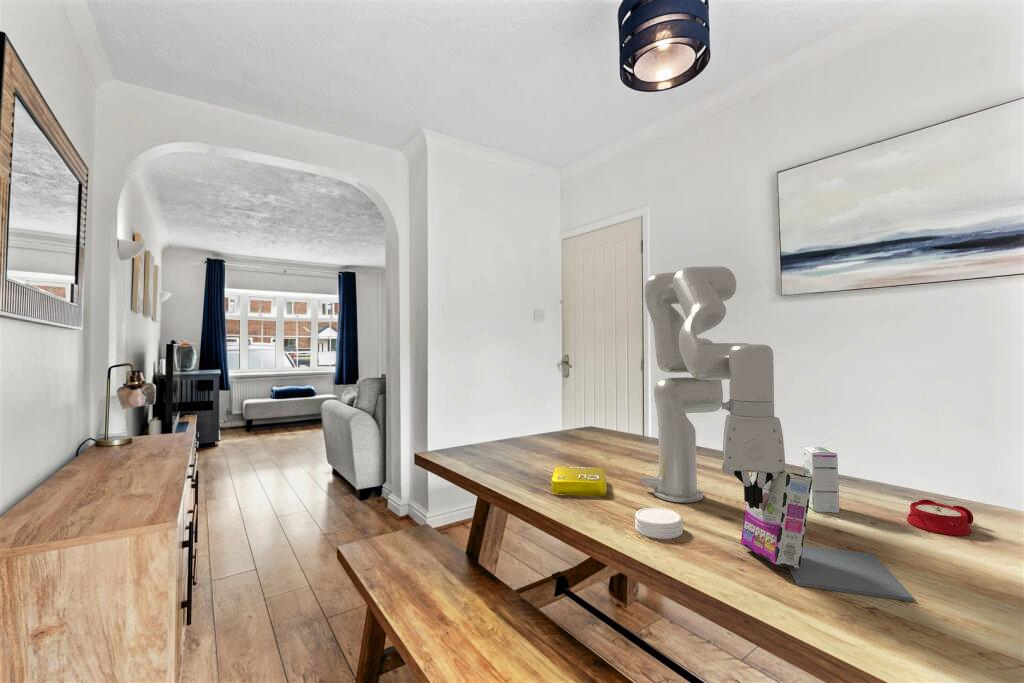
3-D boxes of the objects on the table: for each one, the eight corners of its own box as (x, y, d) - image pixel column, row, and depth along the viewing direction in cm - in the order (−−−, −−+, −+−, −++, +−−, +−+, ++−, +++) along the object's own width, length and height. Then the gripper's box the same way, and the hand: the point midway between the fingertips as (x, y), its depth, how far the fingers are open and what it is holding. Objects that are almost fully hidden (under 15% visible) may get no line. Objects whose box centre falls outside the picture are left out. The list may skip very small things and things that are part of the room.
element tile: (605, 481, 138) (604, 465, 138) (606, 498, 124) (606, 480, 124) (555, 480, 141) (554, 464, 141) (551, 496, 126) (550, 479, 126)
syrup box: (840, 513, 109) (839, 452, 109) (812, 512, 110) (811, 451, 111) (829, 505, 115) (828, 447, 115) (802, 503, 116) (801, 446, 116)
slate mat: (796, 585, 78) (796, 581, 78) (777, 545, 93) (777, 542, 93) (913, 601, 73) (913, 598, 73) (873, 556, 88) (873, 553, 88)
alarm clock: (899, 510, 101) (916, 482, 110) (901, 536, 102) (918, 506, 111) (964, 525, 93) (978, 493, 102) (966, 553, 94) (979, 519, 103)
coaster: (658, 544, 95) (658, 527, 95) (625, 527, 104) (625, 512, 104) (692, 534, 100) (692, 518, 100) (658, 518, 109) (658, 504, 109)
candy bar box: (802, 570, 81) (814, 477, 83) (775, 565, 81) (788, 472, 82) (762, 548, 92) (774, 466, 94) (738, 543, 92) (751, 461, 94)
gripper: (709, 410, 86) (711, 508, 86) (802, 413, 81) (804, 518, 81) (707, 405, 93) (709, 496, 93) (792, 407, 88) (794, 503, 88)
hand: (753, 505), depth 87 cm, fingers closed
